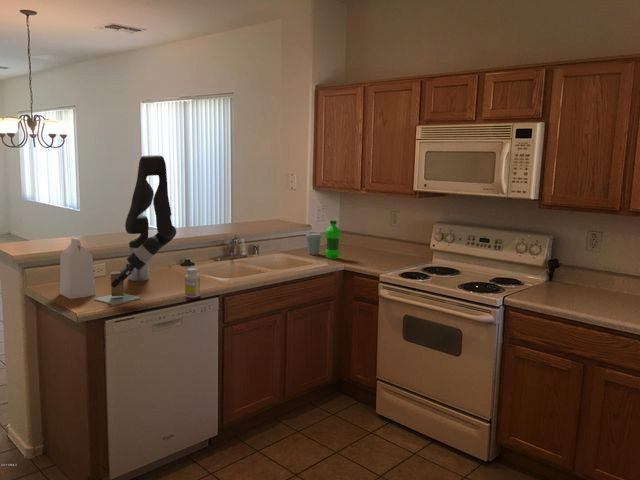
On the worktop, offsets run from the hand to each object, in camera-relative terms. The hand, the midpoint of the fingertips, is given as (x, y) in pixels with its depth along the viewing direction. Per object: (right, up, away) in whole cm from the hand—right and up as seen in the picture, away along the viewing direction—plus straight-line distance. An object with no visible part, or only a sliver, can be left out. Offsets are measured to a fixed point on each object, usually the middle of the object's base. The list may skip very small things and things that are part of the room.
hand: (112, 284), depth 238 cm
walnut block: (+2, -5, +1) cm, 5 cm away
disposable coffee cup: (+87, +10, +128) cm, 156 cm away
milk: (-19, -5, +8) cm, 22 cm away
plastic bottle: (+100, +7, +115) cm, 153 cm away
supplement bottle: (+33, -6, +11) cm, 35 cm away
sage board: (+1, -7, +2) cm, 7 cm away
